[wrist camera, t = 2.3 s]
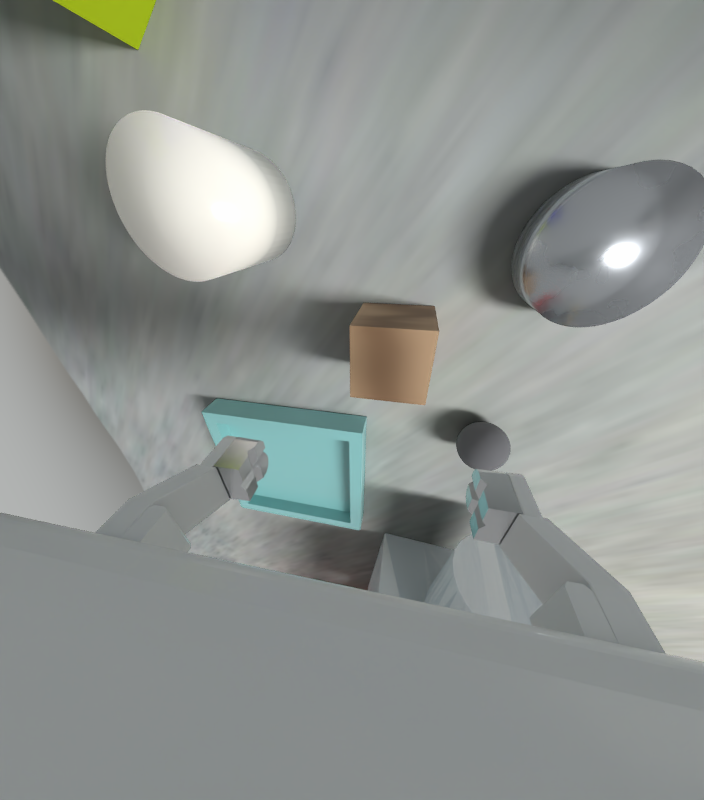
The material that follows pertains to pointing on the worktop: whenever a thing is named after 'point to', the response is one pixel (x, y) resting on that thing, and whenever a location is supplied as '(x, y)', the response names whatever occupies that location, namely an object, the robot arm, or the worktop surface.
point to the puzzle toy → (115, 16)
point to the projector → (454, 577)
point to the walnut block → (392, 352)
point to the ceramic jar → (196, 197)
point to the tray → (300, 459)
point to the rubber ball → (483, 446)
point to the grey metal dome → (610, 242)
